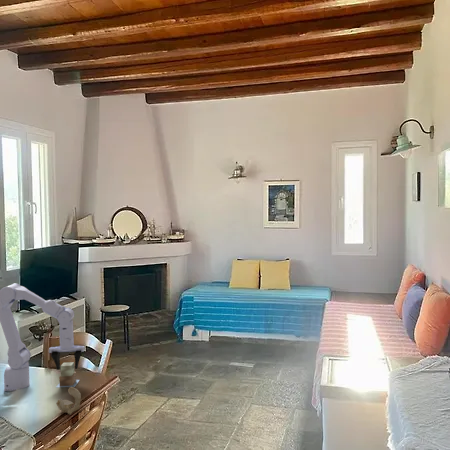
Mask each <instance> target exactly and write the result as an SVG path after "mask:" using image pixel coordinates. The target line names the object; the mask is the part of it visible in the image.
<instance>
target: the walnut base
mask: <svg viewBox="0 0 450 450" xmlns="http://www.w3.org/2000/svg"><path fill="white" fill-rule="evenodd" d="M58 378H59V379H58V380H59V383H60V386H73V385H74V383H75V382H76V380H77V372H76V371H74V374H73V375H72V376H62V377H61V374H60V375H59V376H58Z"/></svg>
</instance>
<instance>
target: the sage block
mask: <svg viewBox="0 0 450 450" xmlns="http://www.w3.org/2000/svg"><path fill="white" fill-rule="evenodd" d="M74 372H75V361H73V362H72V361H70V362H63V363H62V364H60V375H61V377H62V376H72V375H73V374H74Z"/></svg>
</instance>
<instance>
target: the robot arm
mask: <svg viewBox="0 0 450 450" xmlns="http://www.w3.org/2000/svg"><path fill="white" fill-rule="evenodd" d="M20 300H25V301H26V302H29V303H31V304H33V305H35V306H37V307H40V308H41V310H42V313H45V314H47V315H49V316H50V317H52V318H54V319H56V320H57V322H58V324H59V325H58V326H59V327H58V329H59V332H58V333H59V346H51V347H49V348H48V353H49V354H50V357H51V358H52V359H53V361H54V364H55V366H56V370H61V359H60V358H61V353H71V352H74V354H73V356H74V370H76V369H78V368H79V363H80V359H81V356H82V354H83V353H84V351H86V349H85V345H75V339H74V336H75V335H74V318H75V311H74V310H73V309H72V308H71V307H66V306H65V305H61V304H59V303H57V301H56V300H54V299H47V300H45V299H44V298H43V297H41V296H39V295H38V294H36V293H35V292H33V291H31V290H29V289H28V288H27V287H25V286H23V285H20V284H19V283H11V284H10V285H7V286H4V287H2V288H0V325H1V328H2V332H3V334H4V337H5V341H6V343H7V346H8V350H7V354H6V355H7V356H8V357H7V364H8V366H7V367H6V368H5V370H4V372H3V373H4V374H3V383H4V385H3V386H4V389H3V391H4V392H7V391H9V392H11V391H12V392H13V391H17V390H19V389H20V390H21V389H25V388H28V387H30V385H31V384H30V383H31V381H30V363H29V360H30V359H31V357H32V356H31V355H32V353H31V352H30V350H29V349H28V348H27V347H26V344H25V343H24V342H23V341H22V339H21V335H20V332H19V329H18V326H17V323H16V320H15V317H14V315H13V313H12V312H13V311H12V309H11V308H12V306H13V304H14V303H15V301H20Z"/></svg>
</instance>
